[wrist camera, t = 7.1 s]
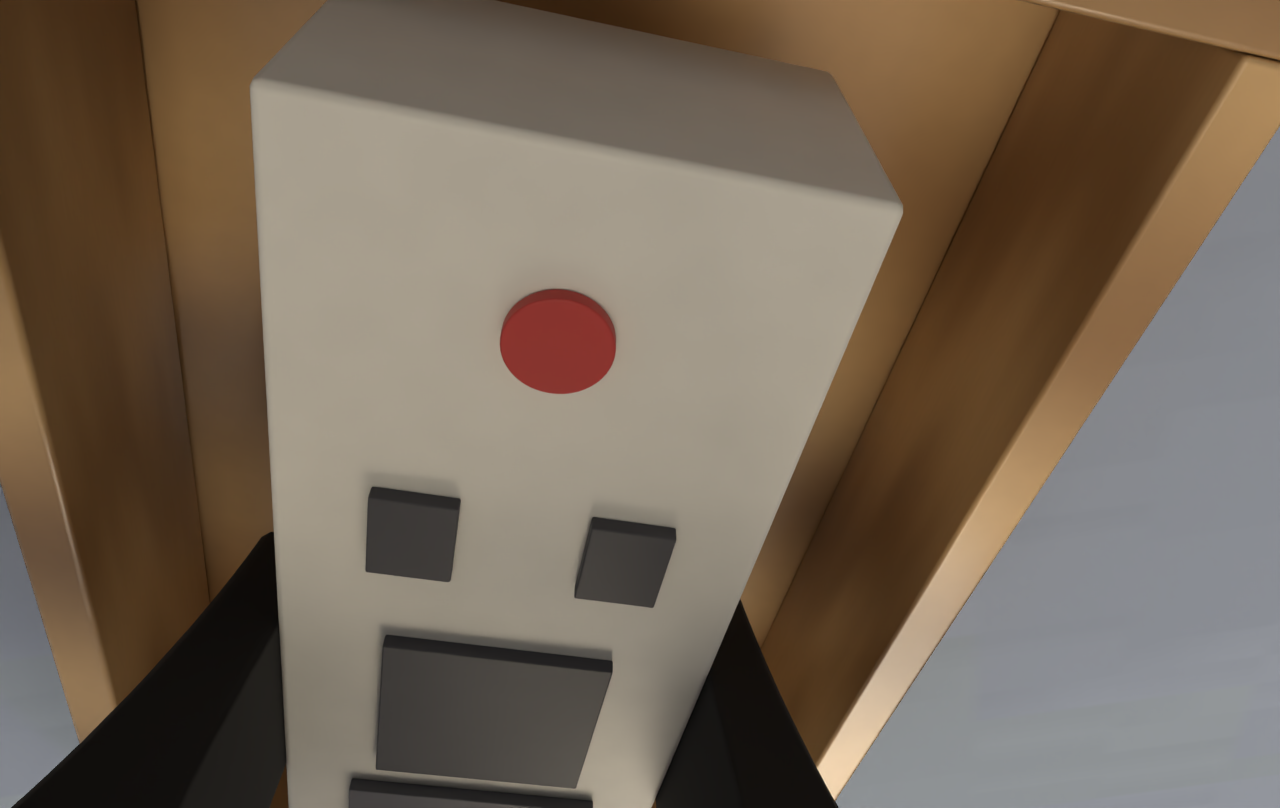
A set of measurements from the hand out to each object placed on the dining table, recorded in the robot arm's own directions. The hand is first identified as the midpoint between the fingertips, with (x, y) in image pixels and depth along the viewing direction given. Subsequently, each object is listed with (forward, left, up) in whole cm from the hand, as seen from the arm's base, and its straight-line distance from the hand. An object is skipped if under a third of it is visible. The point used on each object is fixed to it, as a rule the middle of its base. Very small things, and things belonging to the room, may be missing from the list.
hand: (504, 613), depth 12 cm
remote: (0, 0, -1) cm, 1 cm away
